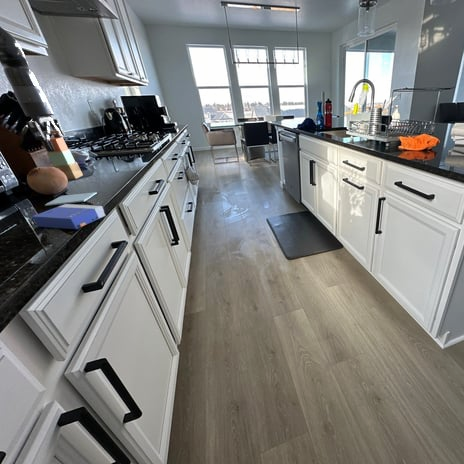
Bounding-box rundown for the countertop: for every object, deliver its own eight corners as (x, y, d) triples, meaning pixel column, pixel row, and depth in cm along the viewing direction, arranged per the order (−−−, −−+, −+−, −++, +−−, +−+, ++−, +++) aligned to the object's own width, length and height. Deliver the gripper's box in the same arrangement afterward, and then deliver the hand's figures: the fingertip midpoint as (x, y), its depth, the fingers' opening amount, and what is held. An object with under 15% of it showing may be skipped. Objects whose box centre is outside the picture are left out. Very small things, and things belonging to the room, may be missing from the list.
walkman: (37, 226, 60) (77, 229, 58) (31, 216, 59) (71, 218, 57) (71, 213, 67) (107, 215, 65) (65, 203, 66) (103, 205, 63)
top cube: (47, 152, 95) (40, 139, 92) (55, 150, 99) (48, 138, 96) (61, 151, 95) (55, 138, 93) (68, 149, 99) (62, 137, 97)
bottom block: (59, 180, 99) (52, 166, 96) (67, 176, 104) (60, 163, 101) (75, 179, 100) (68, 164, 98) (83, 175, 105) (76, 161, 102)
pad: (45, 205, 73) (44, 204, 73) (61, 197, 80) (61, 195, 80) (84, 201, 75) (83, 200, 75) (97, 193, 82) (96, 192, 82)
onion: (52, 205, 82) (23, 183, 74) (40, 193, 86) (10, 171, 77) (81, 188, 87) (56, 165, 79) (68, 177, 90) (43, 154, 82)
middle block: (53, 166, 97) (46, 152, 94) (61, 163, 101) (54, 150, 99) (68, 164, 98) (61, 151, 95) (75, 162, 102) (69, 149, 100)
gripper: (34, 101, 94) (57, 147, 102) (4, 101, 82) (33, 154, 90) (58, 100, 96) (78, 146, 104) (31, 100, 83) (57, 152, 91)
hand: (57, 149), depth 97 cm, fingers open, 6 cm apart
